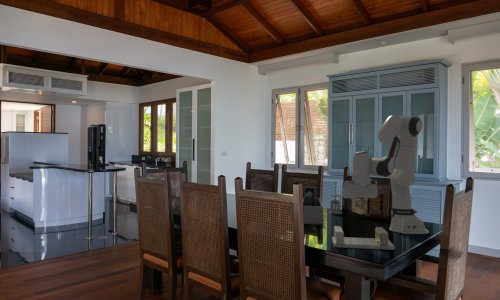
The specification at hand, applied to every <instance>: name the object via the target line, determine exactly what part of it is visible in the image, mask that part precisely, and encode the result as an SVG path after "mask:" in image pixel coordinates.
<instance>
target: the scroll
mask: <svg viewBox="0 0 500 300" xmlns="http://www.w3.org/2000/svg"><path fill="white" fill-rule="evenodd" d="M363 215H364V217H365V218H366V219H367V220H369V219H378V220H379V219H380V220H381V219H382V220H383V219H386V217H387V216H386V214H384V194H383V193H378V194H377V197H376V198H368V201H367V214H363Z"/></svg>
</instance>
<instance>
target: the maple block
mask: <svg viewBox="0 0 500 300" xmlns="http://www.w3.org/2000/svg"><path fill="white" fill-rule="evenodd" d="M355 202H356V203H357V206H353V202H352V201H351V212H353V213H355V214H358V215H365V214H367V213H368V212H367V210H368V208H367V204H368V203H367V201H365V200H364V199H362V198H356V200H355Z"/></svg>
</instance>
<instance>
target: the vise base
mask: <svg viewBox="0 0 500 300" xmlns="http://www.w3.org/2000/svg"><path fill="white" fill-rule="evenodd" d="M331 241H332V246H333V247H334V248H344V249H367V250H368V249H369V250H386V251H387V250H388V251H389V250H391V251H395V245H394V244H393V243H392V242H391V240H390V239H388V245H381V244H380V243H379V242H378V241H377V239H376V238H375V237H374V238H373V237H370V238H369V237H347V236H345V233H344V231H343V228H342V227H341V226H340V225H338V226H337V225H333V236H332V237H331Z"/></svg>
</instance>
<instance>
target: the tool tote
mask: <svg viewBox="0 0 500 300" xmlns="http://www.w3.org/2000/svg"><path fill="white" fill-rule="evenodd" d="M302 198H303V202H304V197H302ZM303 207H304V224H303V225H324V210H323V209H324V206H323V203H322V200H321V198H319V197H316V206H303Z"/></svg>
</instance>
